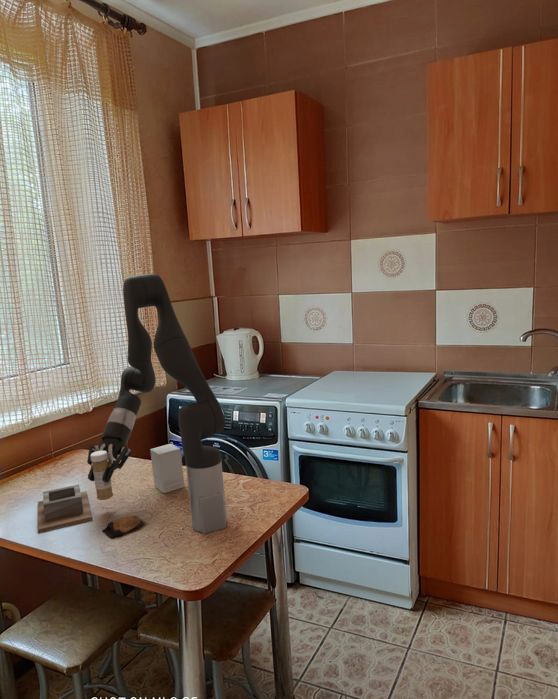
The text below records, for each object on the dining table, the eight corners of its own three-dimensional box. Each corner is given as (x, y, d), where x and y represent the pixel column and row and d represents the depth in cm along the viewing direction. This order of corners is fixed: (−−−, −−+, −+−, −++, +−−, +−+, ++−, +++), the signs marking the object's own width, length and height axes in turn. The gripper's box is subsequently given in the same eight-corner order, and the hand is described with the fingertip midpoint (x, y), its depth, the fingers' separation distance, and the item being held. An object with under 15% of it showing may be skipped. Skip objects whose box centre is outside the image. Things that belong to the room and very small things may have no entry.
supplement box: (185, 487, 172) (181, 448, 169) (162, 494, 167) (158, 454, 165) (175, 480, 178) (171, 442, 176) (153, 486, 174) (149, 448, 172)
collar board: (92, 519, 153) (90, 501, 152) (38, 532, 148) (35, 513, 147) (86, 494, 172) (84, 477, 171) (38, 504, 166) (35, 487, 165)
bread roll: (134, 518, 154) (133, 505, 153) (150, 527, 148) (149, 514, 147) (99, 533, 147) (97, 520, 146) (114, 542, 141) (112, 529, 140)
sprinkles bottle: (109, 492, 161) (103, 448, 159) (115, 497, 157) (109, 452, 155) (94, 497, 158) (87, 453, 156) (100, 502, 155) (93, 456, 153)
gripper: (93, 419, 164) (69, 473, 155) (132, 421, 159) (111, 477, 150) (107, 431, 170) (85, 484, 161) (145, 433, 164) (125, 487, 155)
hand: (97, 480), depth 155 cm, fingers closed on sprinkles bottle, 4 cm apart
